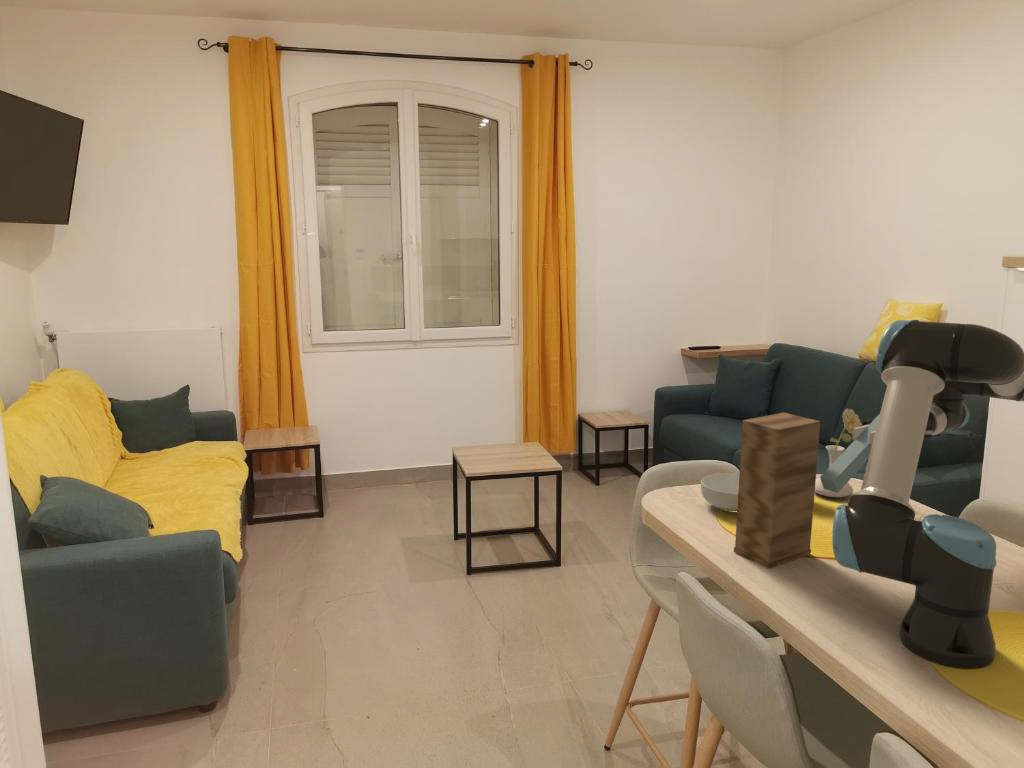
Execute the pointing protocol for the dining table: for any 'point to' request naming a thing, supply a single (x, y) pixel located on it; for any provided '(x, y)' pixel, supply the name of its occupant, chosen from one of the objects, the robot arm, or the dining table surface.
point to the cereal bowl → (721, 490)
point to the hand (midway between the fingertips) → (862, 436)
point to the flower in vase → (835, 451)
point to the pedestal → (776, 488)
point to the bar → (849, 461)
